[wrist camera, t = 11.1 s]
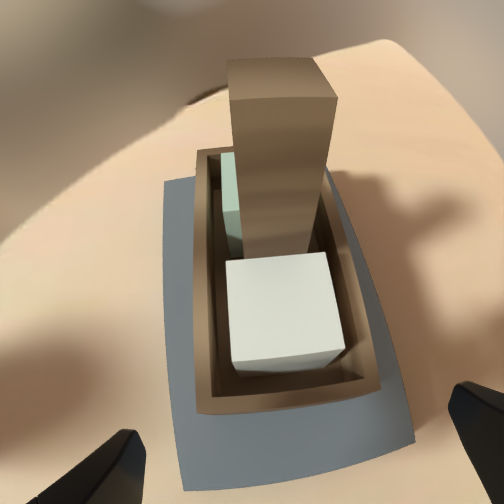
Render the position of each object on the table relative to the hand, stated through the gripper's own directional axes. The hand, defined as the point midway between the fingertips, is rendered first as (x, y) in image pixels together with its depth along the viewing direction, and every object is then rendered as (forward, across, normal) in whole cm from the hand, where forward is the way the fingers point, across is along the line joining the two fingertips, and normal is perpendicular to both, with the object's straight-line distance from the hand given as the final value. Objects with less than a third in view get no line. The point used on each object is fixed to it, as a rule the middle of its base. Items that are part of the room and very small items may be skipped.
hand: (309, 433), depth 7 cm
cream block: (+8, 0, +1) cm, 8 cm away
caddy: (+11, 0, 0) cm, 11 cm away
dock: (+12, 0, +1) cm, 12 cm away
